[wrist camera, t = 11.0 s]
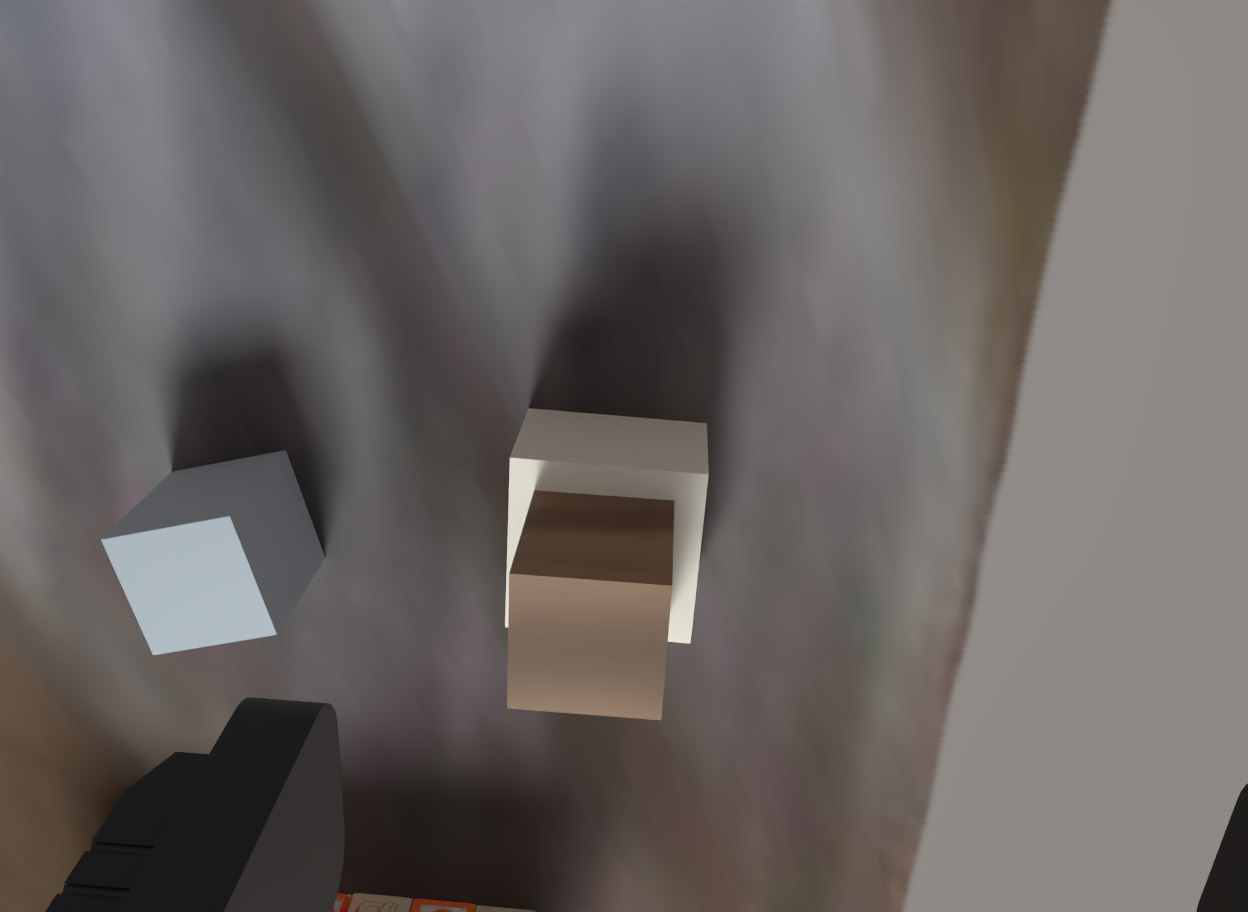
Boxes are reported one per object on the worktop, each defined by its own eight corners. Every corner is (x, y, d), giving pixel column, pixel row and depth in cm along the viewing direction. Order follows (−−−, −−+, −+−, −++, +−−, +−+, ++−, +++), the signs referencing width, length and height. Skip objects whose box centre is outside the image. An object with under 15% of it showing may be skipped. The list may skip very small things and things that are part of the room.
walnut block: (534, 490, 39) (509, 573, 34) (674, 500, 39) (672, 585, 34) (531, 610, 41) (507, 708, 36) (664, 621, 41) (661, 720, 36)
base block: (529, 406, 44) (509, 457, 39) (706, 421, 43) (708, 474, 39) (523, 562, 46) (505, 627, 42) (690, 576, 46) (690, 643, 42)
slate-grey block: (172, 471, 45) (101, 539, 40) (286, 449, 45) (230, 516, 39) (215, 576, 47) (153, 655, 42) (325, 557, 47) (276, 634, 41)
